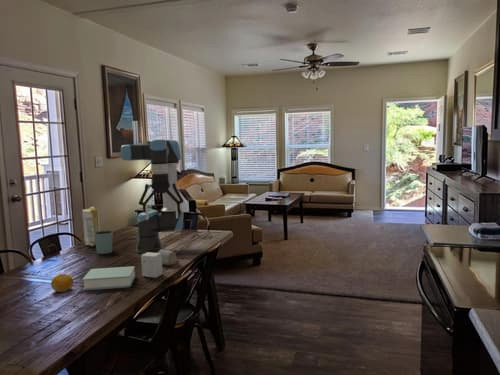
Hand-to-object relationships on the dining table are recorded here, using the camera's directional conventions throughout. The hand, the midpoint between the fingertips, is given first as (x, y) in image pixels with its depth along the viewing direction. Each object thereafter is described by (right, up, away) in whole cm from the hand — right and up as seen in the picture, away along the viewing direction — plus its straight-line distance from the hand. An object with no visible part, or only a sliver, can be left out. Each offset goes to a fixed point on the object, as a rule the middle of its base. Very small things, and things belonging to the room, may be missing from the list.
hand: (162, 218), depth 180 cm
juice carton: (-60, -22, +67) cm, 92 cm away
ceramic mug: (-2, -26, +23) cm, 35 cm away
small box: (-6, -28, +6) cm, 29 cm away
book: (-23, -29, -4) cm, 37 cm away
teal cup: (-45, -24, +49) cm, 70 cm away
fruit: (-41, -31, -11) cm, 52 cm away
